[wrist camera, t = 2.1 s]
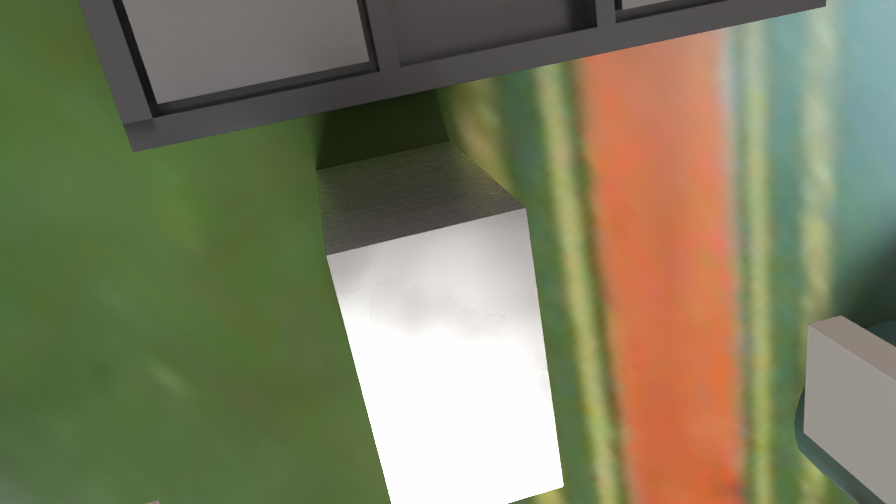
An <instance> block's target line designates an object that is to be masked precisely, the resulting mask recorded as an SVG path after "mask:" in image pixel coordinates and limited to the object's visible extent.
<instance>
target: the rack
mask: <svg viewBox="0 0 896 504" xmlns="http://www.w3.org/2000/svg"><path fill="white" fill-rule="evenodd" d="M78 2H79V4H80V7H81V10H82V13H83V15H84V18H85V21H86V24H87V26H88V29H89V32H90V35H91V37H92V40H93V43H94V46H95V48H96V51H97V54H98V57H99V59H100V62H101V65H102V68H103V70H104V73H105V76H106V79H107V81H108V84H109V87H110V90H111V92H112V95H113V98H114V101H115V103H116V106H117V109H118V112H119V114H120V117H121V120H122V123H123V125H124V128H125V131H126V134H127V136H128V139H129V142H130V145H131V147H132V150H133V152H137V151H142V150H146V149H151V148H156V147H161V146H165V145H170V144H175V143H180V142H184V141H189V140H194V139H199V138H203V137H208V136H213V135H218V134H222V133H227V132H232V131H237V130H241V129H246V128H251V127H256V126H260V125H265V124H270V123H275V122H279V121H284V120H289V119H294V118H298V117H303V116H308V115H312V114H317V113H322V112H327V111H331V110H336V109H341V108H346V107H350V106H355V105H360V104H365V103H369V102H374V101H379V100H384V99H388V98H393V97H398V96H403V95H407V94H412V93H417V92H422V91H426V90H431V89H436V88H441V87H445V86H450V85H455V84H460V83H464V82H469V81H474V80H479V79H483V78H488V77H493V76H498V75H502V74H507V73H512V72H517V71H521V70H526V69H531V68H536V67H540V66H545V65H550V64H554V63H559V62H564V61H569V60H573V59H578V58H583V57H588V56H592V55H597V54H602V53H607V52H611V51H616V50H621V49H626V48H630V47H635V46H640V45H645V44H649V43H654V42H659V41H664V40H668V39H673V38H678V37H683V36H687V35H692V34H697V33H702V32H706V31H711V30H716V29H721V28H725V27H730V26H735V25H740V24H744V23H749V22H754V21H759V20H763V19H768V18H773V17H778V16H782V15H787V14H792V13H796V12H801V11H806V10H811V9H815V8H820V7H825V6H826V0H78Z"/></svg>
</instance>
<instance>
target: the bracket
mask: <svg viewBox="0 0 896 504" xmlns="http://www.w3.org/2000/svg"><path fill="white" fill-rule="evenodd" d="M865 330H867V331H869V332H871V333H872V334H874V335H876V336H877V337H879V338H881V339H883V340H884V341H886V342H888V343H889V344H891V345H893V346H895V347H896V320H891V321H885V322H881V323H878V324H876V325H873V326H870V327H868V328H866V329H865ZM804 407H805V389H804V391H803V393H802V395H801V397H800V400H799V404H798V407H797V411H796V417H795V437H796V441H797V444H798V447H799V450H800V451H801V452H802V453H803V454H804V455H805V456H806V457H807V458H808V459H809V460H810V461H811V462H812V463H813V464H814V465H815V466H816V467H817V468H818V469H819V470H820V471H821V472H822V473H823V474H824V475H825V476H827V477H828V478H829V479H830V480H831V481H832V482H833V483H834V484H836V485H837V486H838V487H839V488H840V489H841V490H842V491H844V492H845V493H846V494H847V495H848V496H849V497H850V498H851V499H853V500H854V501H855V502H856V503H857V504H886V503H884V502H883V501H882V500H881V499H880V498H879V497H878V496H876V495H875V494H874V493H873V492H872V491H871V490H869V489H868V488H867V487H866V486H865V485H864V484H863V483H861V482H860V481H859V480H858V479H857V478H856V477H854V476H853V475H852V474H851V473H850V472H849V471H847V470H846V469H845V468H844V467H843V466H842V465H841V464H839V463H838V462H837V461H836V460H835V459H834V458H832V457H831V456H830V455H829V454H828V453H827V452H826V451H824V450H823V449H822V448H821V447H820V446H819V445H817V444H816V443H815V442H814V441H813V440H812V439H810V438H809V437H808V436H807V435H806V434H805V433H804V432H803V431H804Z"/></svg>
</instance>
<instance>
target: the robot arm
mask: <svg viewBox="0 0 896 504" xmlns="http://www.w3.org/2000/svg"><path fill="white" fill-rule="evenodd" d="M803 432H804V433H805V434H806V435H807V436H808V437H809V438H810V439H812V440H813V441H814V442H815V443H816V444H817V445H819V446H820V447H821V448H822V449H823V450H824V451H826V452H827V453H828V454H829V455H830V456H831V457H832V458H834V459H835V460H836V461H837V462H838V463H839V464H841V465H842V466H843V467H844V468H845V469H846V470H847V471H849V472H850V473H851V474H852V475H853V476H854V477H856V478H857V479H858V480H859V481H860V482H861V483H863V484H864V485H865V486H866V487H867V488H868V489H869V490H871V491H872V492H873V493H874V494H875V495H876V496H878V497H879V498H880V499H881V500H882V501H883V502H884V503H886V504H896V347H895V346H893V345H891V344H889V343H888V342H886V341H884V340H883V339H881V338H879V337H877V336H876V335H874V334H872V333H871V332H869V331H867V330H865V329H864V328H862V327H860V326H859V325H857V324H855V323H854V322H852V321H850V320H848V319H847V318H845V317H843V316H842V315H841V316H837V317H833V318H830V319H826V320H822V321H819V322H815V323H811V324H808V335H807V359H806V383H805V407H804V431H803ZM147 504H160V503H159V501H154V502H150V503H147Z"/></svg>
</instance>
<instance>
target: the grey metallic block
mask: <svg viewBox="0 0 896 504" xmlns="http://www.w3.org/2000/svg"><path fill="white" fill-rule="evenodd" d="M316 173H317V182H318V190H319V198H320V207H321V215H322V223H323V232H324V240H325V248H326V256H327V260H328V264H329V267H330V271H331V275H332V279H333V282H334V286H335V290H336V294H337V298H338V301H339V305H340V309H341V313H342V316H343V320H344V324H345V328H346V332H347V335H348V339H349V343H350V347H351V350H352V354H353V358H354V362H355V365H356V369H357V373H358V377H359V381H360V384H361V388H362V392H363V396H364V399H365V403H366V407H367V411H368V415H369V418H370V422H371V426H372V430H373V433H374V437H375V441H376V445H377V448H378V452H379V456H380V460H381V464H382V467H383V471H384V475H385V479H386V482H387V486H388V490H389V494H390V497H391V501H392V504H506V503H509V502H513V501H516V500H519V499H523V498H526V497H529V496H533V495H536V494H539V493H542V492H546V491H549V490H552V489H556V488H559V487H562V486H563V480H562V473H561V465H560V458H559V450H558V443H557V436H556V428H555V421H554V413H553V406H552V399H551V391H550V384H549V376H548V369H547V361H546V354H545V347H544V339H543V332H542V324H541V317H540V309H539V302H538V295H537V287H536V280H535V272H534V265H533V258H532V250H531V243H530V235H529V228H528V220H527V213H526V208H525V207H524V206H523V205H522V204H521V203H520V202H519V201H517V200H516V199H515V198H514V197H513V196H512V195H511V194H509V193H508V192H507V191H506V190H505V189H504V188H503V187H502V186H500V185H499V184H498V183H497V182H496V181H495V180H494V179H492V178H491V177H490V176H489V175H488V174H487V173H486V172H484V171H483V170H482V169H481V168H480V167H479V166H478V165H477V164H475V163H474V162H473V161H472V160H471V159H470V158H469V157H467V156H466V155H465V154H464V153H463V152H462V151H461V150H460V149H458V148H457V147H456V146H455V145H454V144H453V143H452V142H450V141H447V142H442V143H438V144H433V145H429V146H424V147H420V148H415V149H411V150H406V151H402V152H397V153H393V154H388V155H384V156H379V157H375V158H370V159H366V160H361V161H357V162H352V163H348V164H343V165H339V166H334V167H330V168H325V169H321V170H316Z"/></svg>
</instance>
